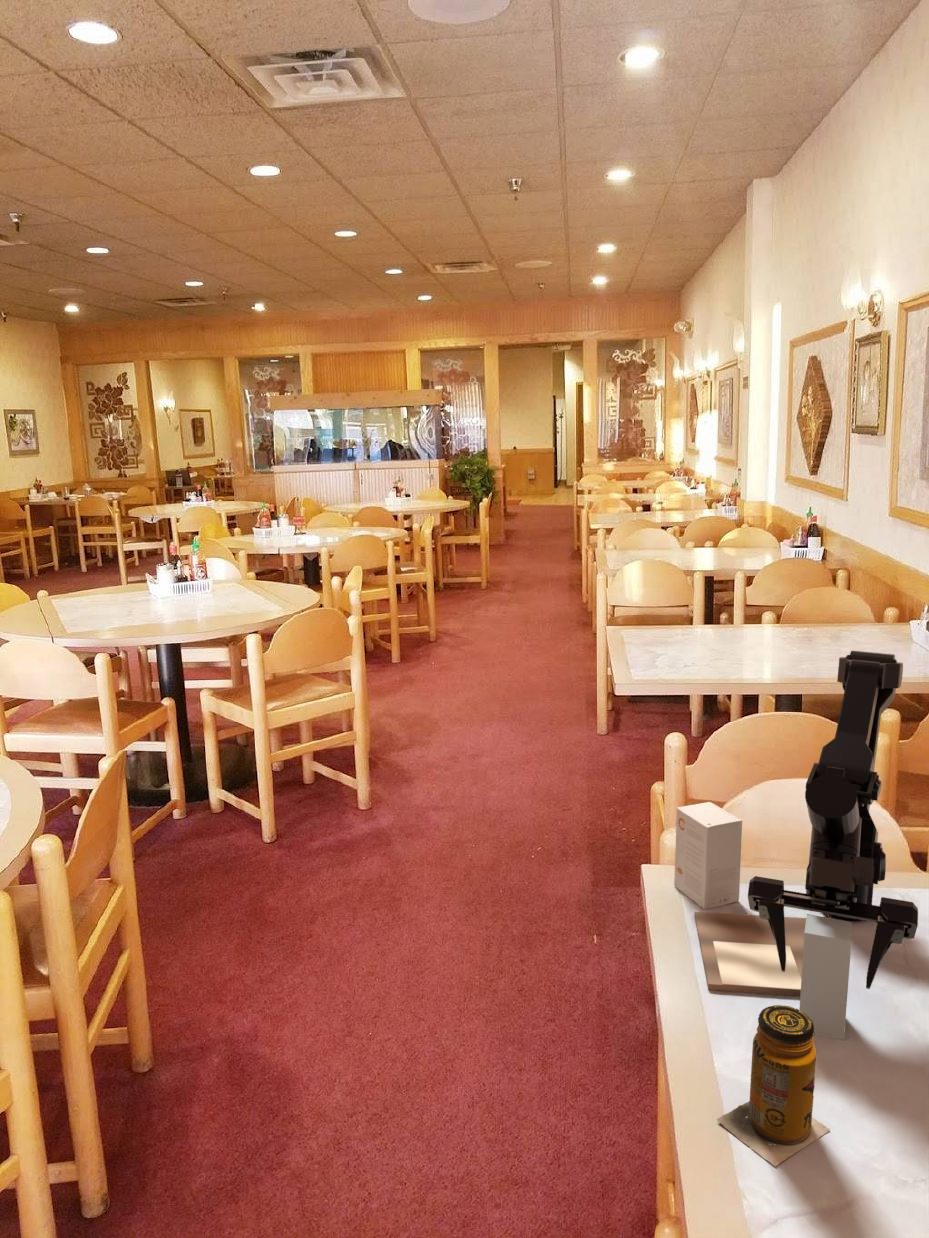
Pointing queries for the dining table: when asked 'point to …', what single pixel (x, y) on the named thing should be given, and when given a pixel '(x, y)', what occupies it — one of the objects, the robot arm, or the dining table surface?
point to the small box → (708, 854)
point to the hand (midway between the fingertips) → (824, 979)
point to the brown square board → (749, 953)
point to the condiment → (779, 1087)
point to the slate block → (826, 974)
